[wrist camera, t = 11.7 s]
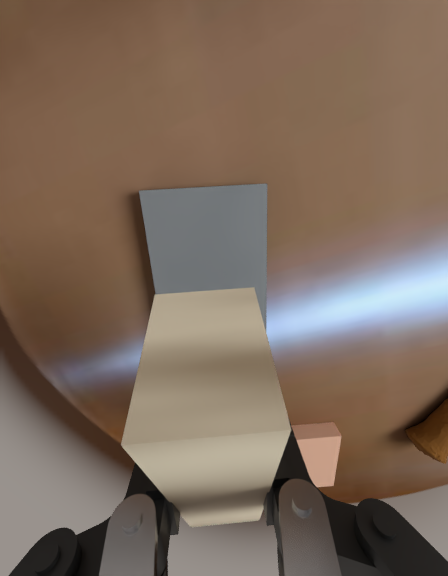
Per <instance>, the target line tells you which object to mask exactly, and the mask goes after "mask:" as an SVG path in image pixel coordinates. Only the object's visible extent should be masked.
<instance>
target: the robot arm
mask: <svg viewBox="0 0 448 576" xmlns="http://www.w3.org/2000/svg"><path fill="white" fill-rule="evenodd" d="M288 419H289V418H288ZM289 423H290V421H289ZM290 427H291V423H290ZM263 506H264V512H265V518H266V523H267V526H268V525H274V528H275V533H276V538H277V554H278V570H279V576H448V561H446V560H445V559H444V557H443V556H442V555H441V554H440V553H438V551H437V550H435V548H434V547H433V546H431V545H430V543H429V542H428V541H427V540H426V539H425V538H424V537H422V535H421V534H420V533H419V532H418V531H417V530H416V529H415V528H414V527H413V526H412V525H410V524H409V522H407V520H405V519H404V518H403V517H402V516H401V515H400V514H399V513H398V512H397V511H396V510H395V509H394V508H393V507H391V506H390V505H389V504H387V503H385V502H383V501H380V500H378V499H372V498H369V499H365V500H363V501H361V502H360V503H359V504H358V506H354V505H350V504H347V503H343V502H340V501H336V500H333V499H331V498H329V497H327V496H326V495H324V494H323V493H322V492H321V491H320V490H319V489H318V488H317V487H316V486H315V485H314V483H313V482H312V480H311V478H310V476H309V473H308V471H307V468H306V465H305V462H304V460H303V457H302V454H301V451H300V448H299V446H298V443H297V440H296V437H295V435H294V432H293V429H292V427H291V432H290V435H289V438H288V441H287V444H286V446H285V449H284V452H283V455H282V458H281V460H280V463H279V466H278V469H277V472H276V474H275V477H274V480H273V483H272V486H271V489H270V491H269V492H267V494H266V497H265V500H264V503H263ZM179 521H180V511H179V510H178V509H177V508H176V507H175V505H174V504H173V503H172V502H169V501H168V500H167V499H166V498H165V496H164V495H163V494H162V493H161V492H160V491H159V489H158V488H157V487H156V486H155V485H154V484H153V482H152V481H151V480H150V479H149V478H148V476H147V475H146V474H145V473H144V472H143V471H142V469H141V468H140V467H139V466H138V465H137V464H136V462H135V465H134V469H133V472H132V476H131V479H130V483H129V486H128V490H127V493H126V496H125V498H124V500H123V501H122V502H121V503H120V504H119V505H118V506H117V508H116V509H115V511H114V512H113V514H112V516H111V517H109V518H108V519H107V520H105V521H104V522H102V523H100V524H99V525H96V526H94V527H92V528H90V529H88V530H86V531H84V532H82V533H80V534H78V535H75V533H74V532H73V531H72V530H71V529H68V528H59V529H56V530H53V531H51V532H50V533H48V534H46V535H45V536H43V537H42V538H41V539H40V540H39V541H38V542H37V543H36V544H35V545H34V546H33V547H32V548H31V549H30V550H29V552H28V553H27V554H26V555H25V556H24V558H23V559H22V560H21V561H20V563H19V564H18V565H17V566H16V567H15V569H14V570H13V571H12V572H11V574H10V575H9V576H168V560H167V556H168V548H169V540H170V535H175V534H178V531H179Z"/></svg>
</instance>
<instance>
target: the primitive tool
mask: <svg viewBox="0 0 448 576" xmlns="http://www.w3.org/2000/svg"><path fill="white" fill-rule="evenodd" d="M405 432H406V433H407V436H408V437H409V438H410V440H411V441H412V442H413V443H414V445H415V447H417V449H418V450H419V451H422V452H423V453H424V454H426V455H428V456H430V457H431V458H433V459H435V460H437V461H439V462H442V463H446V462H447V456H448V398H447V399H446V400H444V401H443V403H442V404H441V405H440V406H439V407H438V408H437V409H436V410H435V411H433V412H432V413H431V414H430V415H429V417H428V418H427V419H426V420H425V421H424V422H423V423H419V424H418V425H417V426H413V427H411V428H408V429H406V431H405Z"/></svg>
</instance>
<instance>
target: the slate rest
mask: <svg viewBox="0 0 448 576" xmlns="http://www.w3.org/2000/svg"><path fill="white" fill-rule="evenodd" d="M139 194H140V201H141V207H142V213H143V219H144V225H145V231H146V238H147V244H148V250H149V256H150V262H151V268H152V275H153V281H154V287H155V293H156V294H168V293H182V292H196V291H210V290H224V289H238V288H252V287H254V288H255V292H256V296H257V300H258V304H259V307H260V311H261V315H262V319H263V323H264V327H265V331H266V284H267V184H251V185H233V186H215V187H197V188H179V189H161V190H144V191H139Z"/></svg>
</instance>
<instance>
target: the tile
mask: <svg viewBox="0 0 448 576" xmlns="http://www.w3.org/2000/svg"><path fill="white" fill-rule="evenodd" d="M291 427H292V429H293V432H294V435H295V437H296V440H297V443H298V446H299V448H300V451H301V454H302V457H303V460H304V462H305V465H306V468H307V471H308V473H309V476H310V478H311V480H312V482H313V483H314V485H315V486H316V487H324V486H333V485H334V479H335V473H336V467H337V460H338V454H339V448H340V442H341V434H340V433H339V431H338V429H337V427H336V425H335V424H334V422H330V423H317V424H305V425H292V426H291Z"/></svg>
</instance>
